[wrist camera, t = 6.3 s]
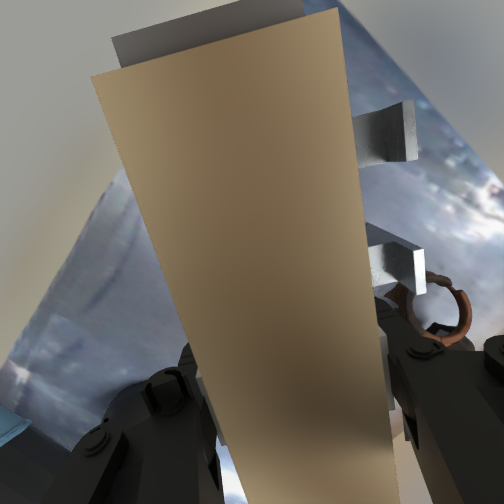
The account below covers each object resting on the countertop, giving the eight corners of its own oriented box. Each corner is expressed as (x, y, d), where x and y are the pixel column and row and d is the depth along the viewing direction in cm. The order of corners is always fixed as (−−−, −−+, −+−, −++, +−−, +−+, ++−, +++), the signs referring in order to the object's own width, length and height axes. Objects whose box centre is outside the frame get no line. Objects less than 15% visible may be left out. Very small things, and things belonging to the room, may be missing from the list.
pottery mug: (349, 320, 36) (383, 321, 28) (383, 262, 38) (423, 248, 30) (429, 376, 35) (487, 394, 27) (459, 314, 38) (521, 313, 30)
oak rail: (282, 495, 14) (299, 641, 10) (159, 98, 9) (74, 34, 4) (362, 479, 14) (415, 622, 10) (287, 63, 8) (332, -42, 4)
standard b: (301, 176, 30) (327, 181, 21) (294, 136, 29) (318, 123, 19) (362, 160, 30) (417, 158, 20) (357, 120, 29) (414, 98, 19)
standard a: (318, 268, 33) (348, 310, 24) (312, 237, 32) (341, 268, 23) (373, 255, 33) (426, 293, 24) (369, 223, 32) (423, 248, 22)
